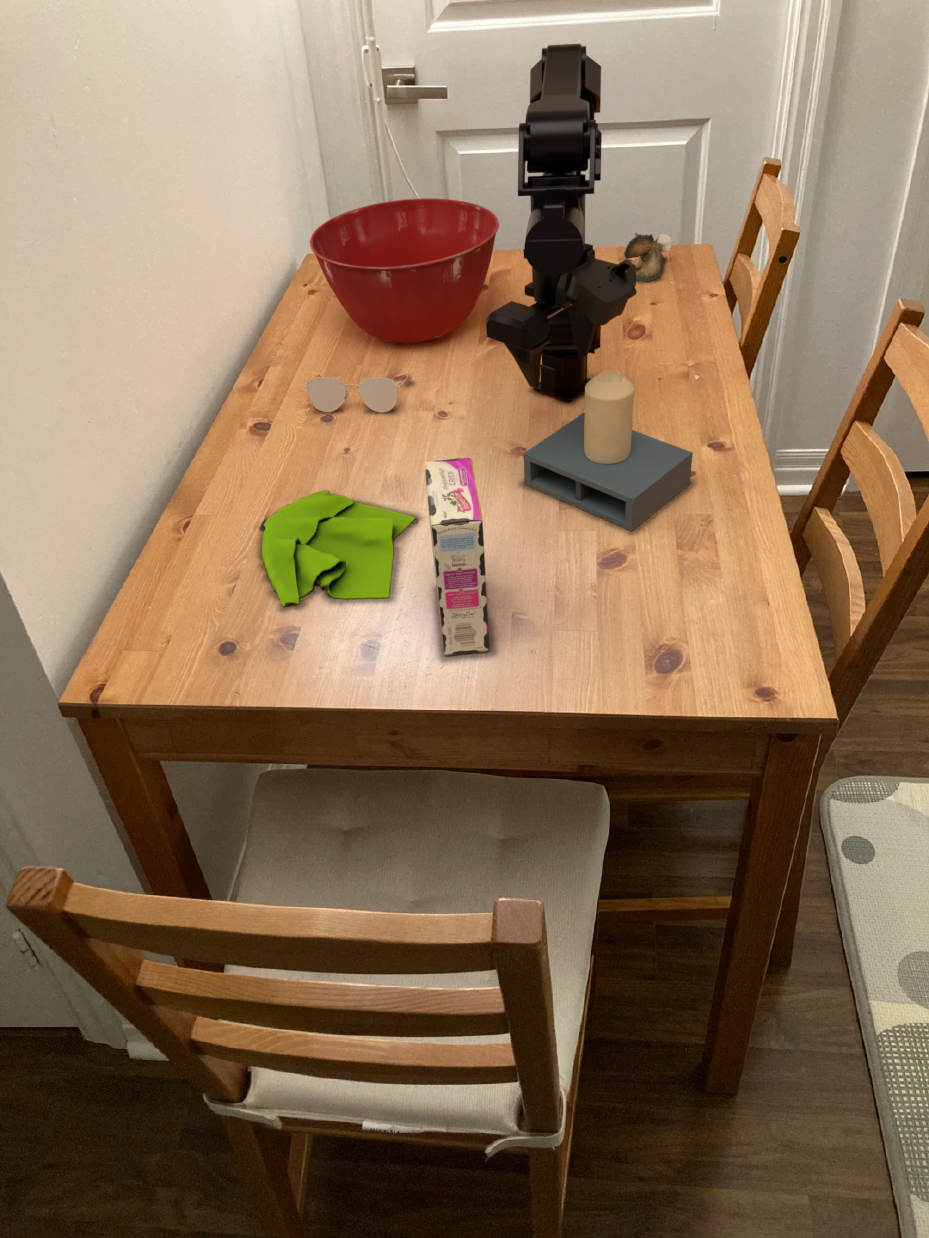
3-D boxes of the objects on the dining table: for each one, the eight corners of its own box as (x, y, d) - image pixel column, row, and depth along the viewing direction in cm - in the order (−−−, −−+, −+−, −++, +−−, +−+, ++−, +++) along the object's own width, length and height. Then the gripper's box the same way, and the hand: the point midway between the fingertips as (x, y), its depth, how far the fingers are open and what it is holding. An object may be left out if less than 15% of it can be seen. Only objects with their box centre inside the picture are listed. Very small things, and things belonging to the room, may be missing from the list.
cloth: (318, 483, 124) (315, 466, 122) (458, 534, 114) (457, 517, 112) (200, 570, 112) (195, 553, 110) (346, 636, 102) (342, 619, 100)
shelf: (583, 442, 127) (584, 412, 124) (689, 484, 118) (693, 452, 115) (524, 484, 120) (523, 453, 117) (631, 531, 112) (633, 499, 109)
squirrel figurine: (621, 252, 170) (612, 263, 162) (646, 216, 166) (638, 226, 158) (656, 279, 170) (649, 291, 163) (682, 244, 166) (676, 254, 159)
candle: (628, 466, 114) (632, 388, 107) (581, 463, 115) (582, 386, 108) (632, 441, 118) (636, 365, 111) (586, 439, 119) (587, 363, 112)
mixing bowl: (290, 331, 158) (271, 235, 147) (424, 275, 171) (415, 183, 161) (402, 387, 141) (389, 283, 131) (540, 320, 155) (538, 221, 144)
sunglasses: (306, 412, 138) (301, 377, 135) (322, 391, 145) (317, 358, 142) (403, 412, 136) (400, 377, 133) (414, 392, 143) (411, 358, 140)
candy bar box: (493, 652, 98) (484, 520, 88) (444, 658, 98) (428, 526, 87) (482, 582, 107) (472, 454, 96) (436, 587, 107) (421, 459, 96)
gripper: (564, 285, 95) (564, 425, 105) (671, 224, 105) (661, 358, 115) (478, 261, 101) (486, 396, 111) (587, 205, 111) (585, 334, 121)
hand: (558, 371), depth 115 cm, fingers open, 9 cm apart
